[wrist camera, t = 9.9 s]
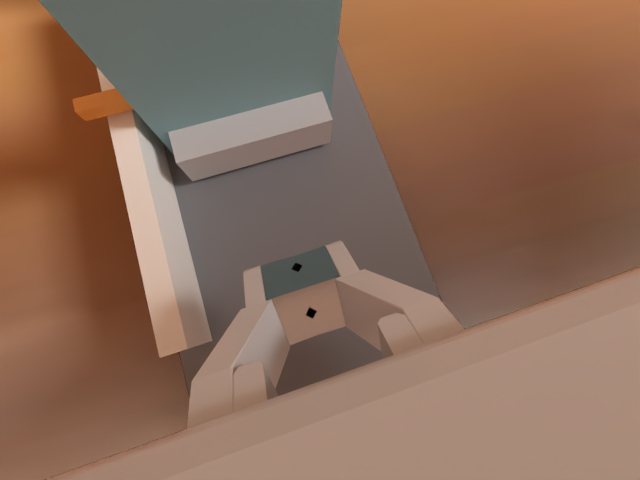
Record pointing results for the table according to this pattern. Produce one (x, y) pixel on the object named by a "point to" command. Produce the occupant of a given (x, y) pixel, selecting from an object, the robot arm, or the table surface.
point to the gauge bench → (262, 232)
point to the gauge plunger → (212, 73)
